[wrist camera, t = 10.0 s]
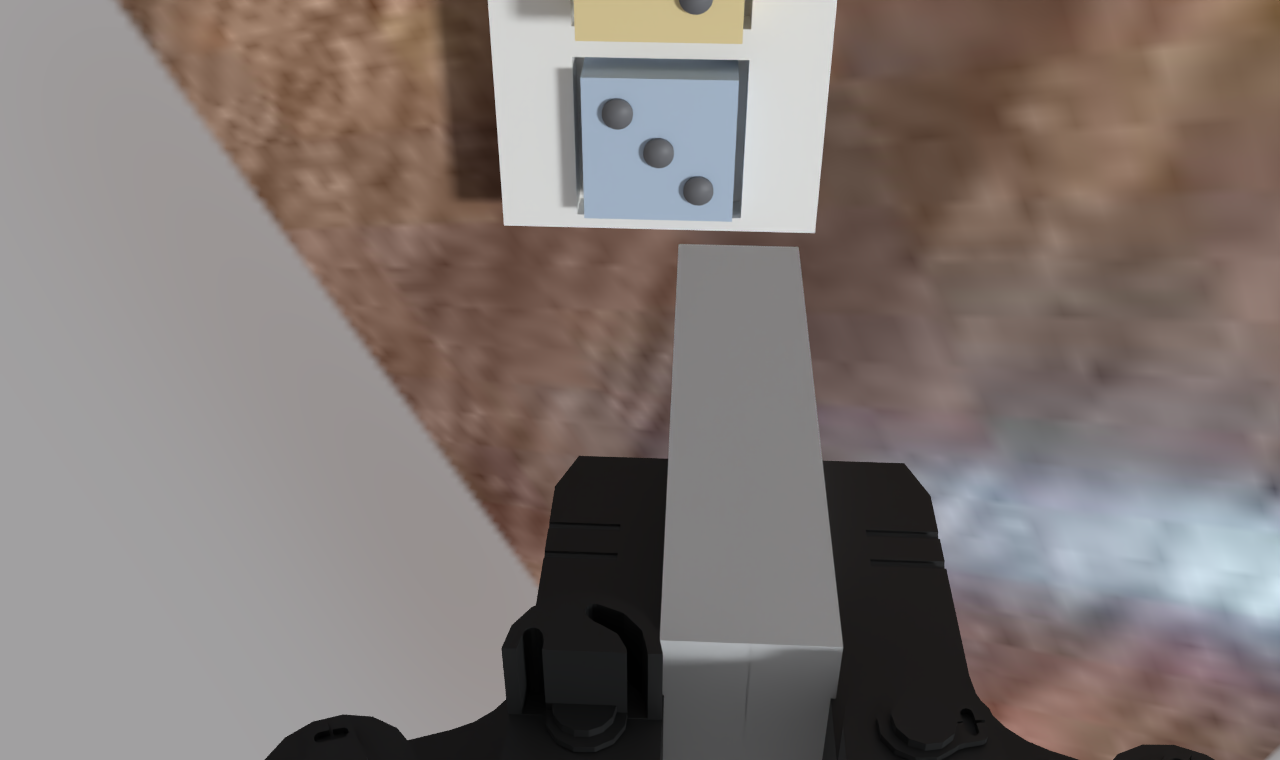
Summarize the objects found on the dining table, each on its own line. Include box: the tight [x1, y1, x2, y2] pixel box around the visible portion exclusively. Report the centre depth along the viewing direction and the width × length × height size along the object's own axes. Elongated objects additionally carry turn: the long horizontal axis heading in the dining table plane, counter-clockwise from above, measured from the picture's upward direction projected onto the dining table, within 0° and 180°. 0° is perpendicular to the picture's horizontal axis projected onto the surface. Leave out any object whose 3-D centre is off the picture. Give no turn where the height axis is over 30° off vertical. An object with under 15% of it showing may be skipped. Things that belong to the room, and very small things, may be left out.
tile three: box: [580, 57, 739, 222], centre depth 49 cm, size 6×6×3 cm
